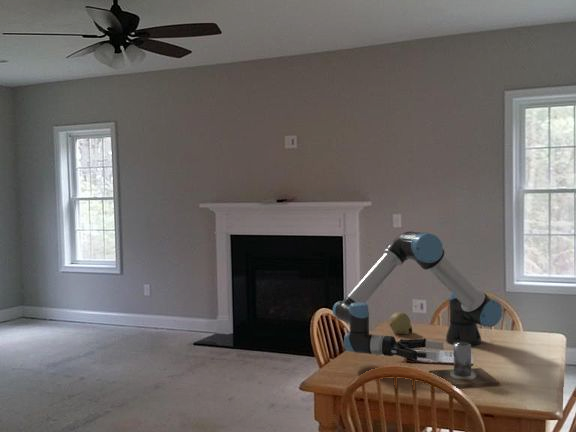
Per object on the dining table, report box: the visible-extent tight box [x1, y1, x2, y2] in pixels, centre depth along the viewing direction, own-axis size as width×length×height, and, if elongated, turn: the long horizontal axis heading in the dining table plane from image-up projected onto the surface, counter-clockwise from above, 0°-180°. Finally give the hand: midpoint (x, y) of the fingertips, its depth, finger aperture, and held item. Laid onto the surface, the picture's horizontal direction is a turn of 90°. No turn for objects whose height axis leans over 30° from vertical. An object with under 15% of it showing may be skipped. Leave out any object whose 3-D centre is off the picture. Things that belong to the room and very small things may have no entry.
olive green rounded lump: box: [387, 311, 413, 335], centre depth 268 cm, size 10×12×11 cm
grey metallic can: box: [453, 341, 472, 377], centre depth 200 cm, size 6×6×11 cm
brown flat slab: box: [428, 367, 500, 389], centre depth 201 cm, size 20×16×2 cm
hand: (439, 350), depth 204 cm, fingers open, 13 cm apart
